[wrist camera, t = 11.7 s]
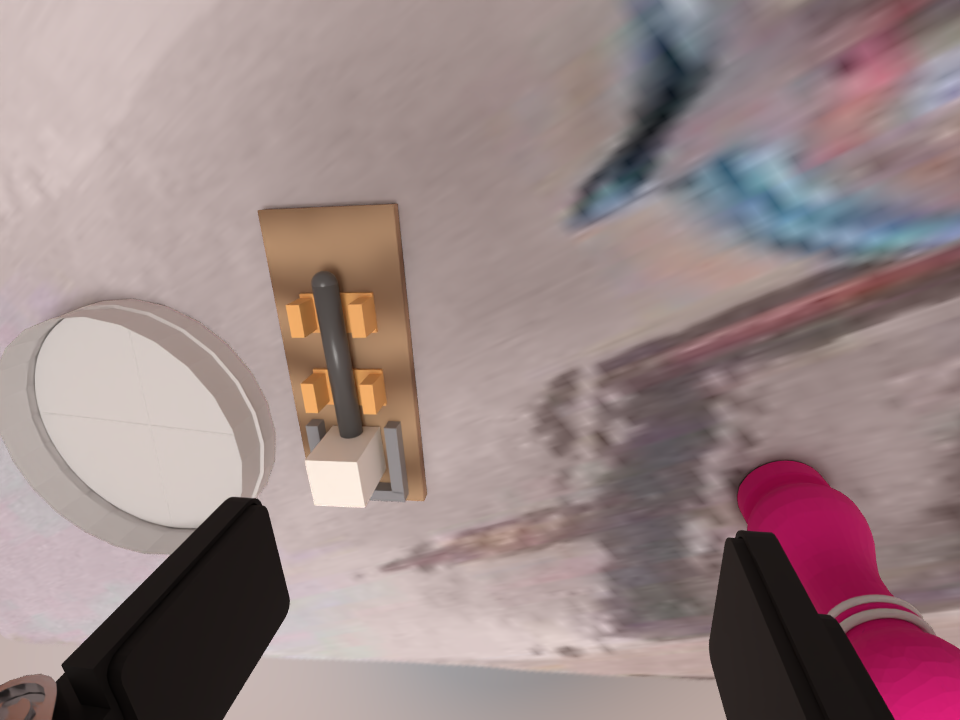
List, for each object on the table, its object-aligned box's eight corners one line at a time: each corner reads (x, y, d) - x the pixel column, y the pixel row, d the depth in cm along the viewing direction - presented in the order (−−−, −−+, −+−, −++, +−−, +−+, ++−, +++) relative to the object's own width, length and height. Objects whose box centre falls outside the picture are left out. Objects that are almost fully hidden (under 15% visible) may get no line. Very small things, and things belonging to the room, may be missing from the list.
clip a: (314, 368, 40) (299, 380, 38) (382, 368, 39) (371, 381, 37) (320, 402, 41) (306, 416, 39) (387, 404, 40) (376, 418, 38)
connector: (302, 268, 36) (265, 286, 32) (355, 267, 36) (325, 284, 31) (340, 467, 43) (314, 505, 38) (386, 468, 42) (365, 507, 38)
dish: (263, 308, 40) (224, 326, 35) (290, 534, 48) (261, 573, 43) (17, 288, 43) (-48, 302, 38) (81, 504, 51) (33, 538, 46)
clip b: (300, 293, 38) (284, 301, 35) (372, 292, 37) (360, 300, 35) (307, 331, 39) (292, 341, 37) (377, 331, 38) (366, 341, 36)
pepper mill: (850, 507, 38) (1118, 824, 20) (758, 547, 41) (922, 863, 22) (804, 437, 37) (1047, 708, 18) (711, 482, 39) (845, 762, 21)
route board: (265, 209, 37) (257, 210, 36) (397, 203, 35) (393, 204, 34) (318, 488, 45) (313, 495, 44) (427, 494, 44) (424, 501, 43)
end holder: (312, 419, 42) (305, 426, 40) (400, 421, 40) (396, 428, 39) (325, 489, 44) (319, 497, 43) (408, 493, 43) (404, 502, 42)
